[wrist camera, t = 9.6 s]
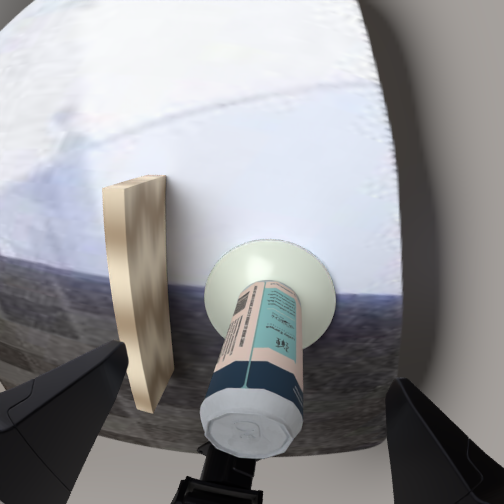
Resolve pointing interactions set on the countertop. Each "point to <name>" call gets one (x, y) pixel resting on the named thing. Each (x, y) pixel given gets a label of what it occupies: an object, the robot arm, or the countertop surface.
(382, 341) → the countertop surface
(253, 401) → the beer can
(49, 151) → the countertop surface
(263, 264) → the sage pad
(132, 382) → the birch screen
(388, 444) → the robot arm
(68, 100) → the countertop surface
